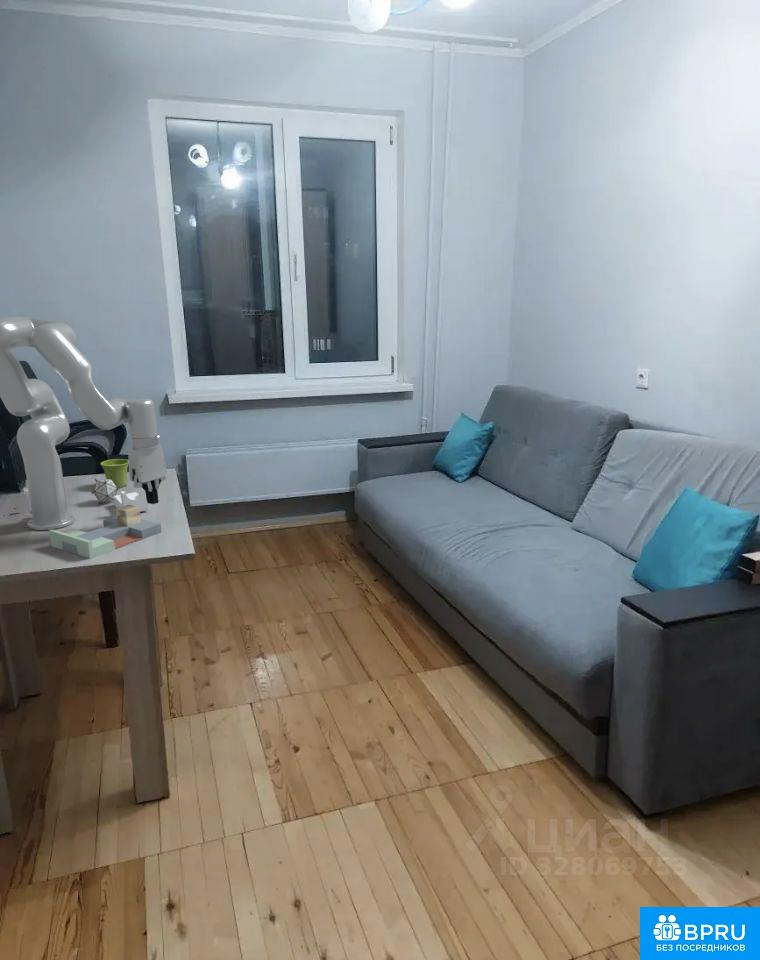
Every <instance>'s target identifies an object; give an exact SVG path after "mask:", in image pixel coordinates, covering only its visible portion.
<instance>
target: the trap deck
mask: <svg viewBox="0 0 760 960" xmlns="http://www.w3.org/2000/svg"><path fill="white" fill-rule="evenodd" d="M102 522H103V526H102V527H100V528H96V529H94V530H91V531H87V532H86V531H82V530H78V529H72V530H69V531H65V532H63V531H59V530H56V529H50V530H48V532H49V533H48V534H49V539H50V540H49V541H50V545H51V547H53V548H56V549H60V550H63V551H65V552H69V553H71V554H75V555H78V556H81V557H84V558H86V559H94V558H96V557H98V556H101V555H104V554H106V553H109V552H112V551H114V550H117V548H118V549H120V548H123V547H125V545H126V546H128V545H130V543H131V544H133V542H134V543H136V542H138V540H139V541H142V540H145V539H147V538H150V537H152V536H155V535H157V534H159V533H162V526H161V523H159V522H154V521H151V520H146V519H144V518H141V522H139V523H136V524H133V525H131V526H124V525H121V524H118V523H117V515H114V516H112V517H108V518H105V519H103V520H102Z"/></svg>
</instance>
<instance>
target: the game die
mask: <svg viewBox="0 0 760 960" xmlns="http://www.w3.org/2000/svg"><path fill="white" fill-rule="evenodd" d="M111 479H112V477H111V478H110V479H106V478H105V479H97V478H95V479H94V481H95V485H94V488H93V490H92V491H91V493H90V494H91V495H94V496H95V497H96V499H97V500H98V501H99V502H98V505H101V504H102V503H103V502H104V503H105V502H114V496H116V495H117V494H118V490H119V489H121V487H118V488H117V486H116V485H115V484H114V482H113V481H112V480H111Z"/></svg>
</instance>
